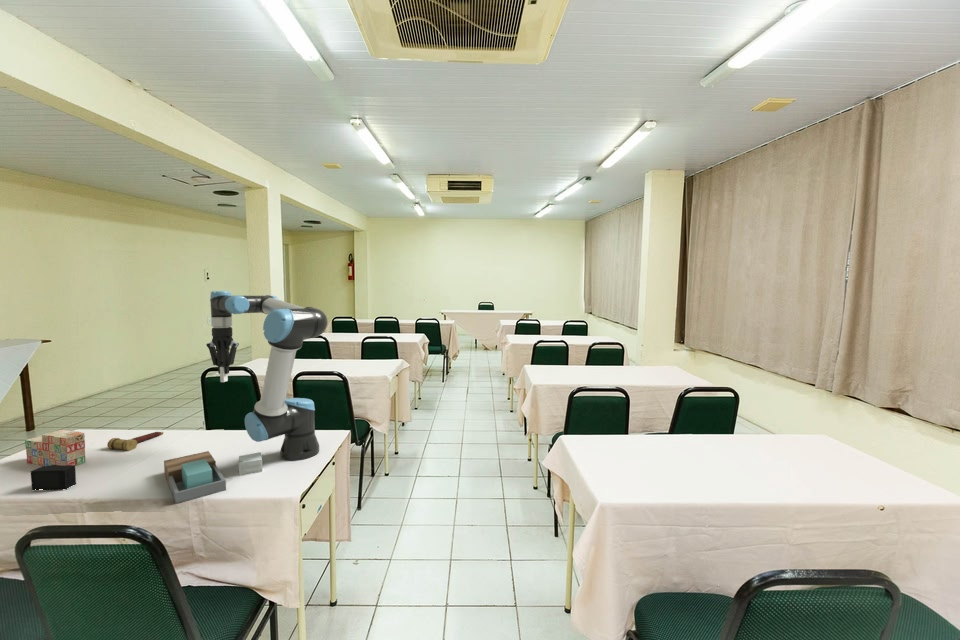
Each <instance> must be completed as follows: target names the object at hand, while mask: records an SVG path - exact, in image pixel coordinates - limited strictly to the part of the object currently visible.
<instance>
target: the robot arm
mask: <svg viewBox="0 0 960 640" xmlns="http://www.w3.org/2000/svg"><path fill="white" fill-rule="evenodd" d="M209 301H210V316H211V317H210V318H211V319H210V320H211V324H210V325H211V336H212V338H211V341H210V342H208V343H206V347H207V348H208V350H209V354H210V358H211V361H212V365H213V366H216V367H217V369H218V370H217V372H218V375H219V377H220V379H219V381H220V383H225V382H228V381H229V377H228V376H229V375H230V366H231V365H234V363H235V358H236V353H237V350H238V349H237V348H238V347H239V345H240V343H239V342H236V341H234V338H233V328H232V326H233V315H242V314H257V313H258V314H259V313H260V314H264V315H266V317H265V319H264V322H263V326H262V330H263V336H264V338H265V339H266V340H267V343H268V345H269V346H270V351H269V356H268V362H267V367H266V371H265V376H264V380H263V386H262V391H261V394H260V395H261V396H260V400H259V401H256V403H255V404H254V406H253V407H254V408H253V411H252V412H248V413H247V414H246V415H245V417H244V426H245V430H246V433H247V435H248V436H249V437H250V439H251V440H252V441H254V442H257V443H258V442H260V443H261V442H263V441H264V442H265V441H269V440H271V439H274V438H277V437H281V436H283V435H284V438H283V441H282V444H281V447H280V452H279V453H280V454H279V455H280V458H281V459H283V460H289V461H300V460H304V459H309V458H312V457H314V456H316V455H318V453H320V444H319V440H318V438H317V436H316V429H315V428H316V426H315V422H316V421H315V417H316V416H315V413H316V412H315V411H316V408H315V402H314V401H313V400H312V399H310V398H305V397H302V398H301V397H291V398H290V397H289V398H287V395H288V390H289V387H290V386H289V385H290V380H291V378H292V377H291V376H292V372H293V368H294V363H295V359H296V354H297V351H298V350H300V349H301V348H302V347H303V342H304V340H307V339H314V338H317V337H319V336H321V335H323V334H324V332H325V331H326V329H327V328H328V322H329V321H328V317H327V315H326V313H325V312H324V311H322V310H321V309H319V308H316V307H313V306H306V307H304V306H300V305H297V304H293V303H291V302H290V303H289V302H287V301H284V300H280V299H279V298H278V297H277V296H275V295H270V294H266V295H238V294H235V295H232V293H231V292H230V291H229V290H217V291H216V290H212V291H210V297H209ZM228 374H229V375H228Z"/></svg>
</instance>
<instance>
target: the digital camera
mask: <svg viewBox="0 0 960 640" xmlns="http://www.w3.org/2000/svg"><path fill="white" fill-rule="evenodd" d="M76 477H77V475H76V466H75V465H63V466H57V465H51V466H45V465H41V466H40V467H38V468H35V469H33V470H31V471H30V480H31V491H32V490H35V489H36V490H39V489H43V490H46V491H64V490H63V489H66V490H67V488H68V489H70V488H71V486H72V487H74V486H76V484H77V478H76ZM73 485H74V486H73ZM69 487H70V488H69Z"/></svg>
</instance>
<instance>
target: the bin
mask: <svg viewBox="0 0 960 640" xmlns="http://www.w3.org/2000/svg"><path fill="white" fill-rule="evenodd" d="M212 480H213V482H212V483H209V484H205V485H201V486H197V487H193V488H189V489H186V490H185V489H184V487H183V484H182V482H180V483H176V484H175V481H174V479H173V476H169V485H168V488H169V490H170V492H171V495H172V498H173V501H174V503H175V504H176V505H177V504H181V503H185V502H188V501H191V500H195V499H199V498H203V497H206V496H210V495H213V494H217V493H220V492H223V491H224V492H225V491H227V480H226V478H225V477H224V475H223V473H222V472H221V471H220V469H219V468H218V466H217V464H216V465H215V466H213V474H212Z"/></svg>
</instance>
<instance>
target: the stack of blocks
mask: <svg viewBox="0 0 960 640" xmlns="http://www.w3.org/2000/svg"><path fill="white" fill-rule="evenodd" d="M24 443H25V452H26V462H27V464H33V465H38V464H40V465H39V466H45V465H46V466H51V465H57V466H63V465H75V467H77V466H80V465H83V464H86V439H85V432H80V431H76V430H66V429H65V430H64V429H59V430H55V431H52V432H47V433H43V434H42V435H38V436H35V437H33V438H29V439H25V440H24Z"/></svg>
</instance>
